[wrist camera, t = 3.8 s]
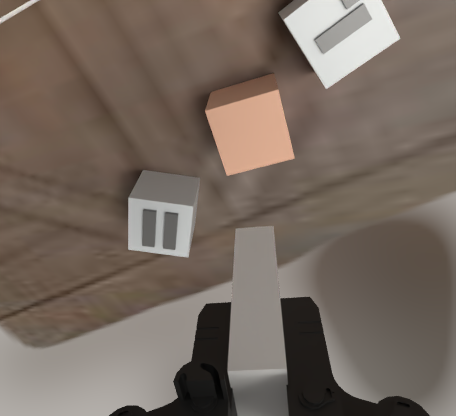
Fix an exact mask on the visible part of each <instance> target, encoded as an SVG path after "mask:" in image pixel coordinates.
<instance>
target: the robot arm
mask: <svg viewBox="0 0 456 416" xmlns="http://www.w3.org/2000/svg"><path fill="white" fill-rule="evenodd" d="M173 382H174V385H175V389H176V392H177V395H178V398H177V399H176V400H174V401H173V402H172V403H169V404H168V405H165V406H163V407H160V408H158V409H154V410H152V411H149V412H146V411H145V410H144V409H142V408H141V407H139V406H125V407H122V408H120V409H117V410H116V411H115V412H113V413H112V414H110V415H109V416H429V414H428V413H427V412H426V411H425V410H424V409H423V408H422V407H421V406H420V405H419V404H417V403H415V402H414V401H412V400H410V399H407V398H403V397H400V396H394V397H387V398H385V399H383V400H381V401H379V403H378V404H376V403H372V402H369V401H365V400H362V399H359V398H356V397H353V396H351V395H350V394H348V393H346V392H345V391H344V390H343V389H341V387H339V386H338V384H337V383H336V381H335V380H334V377H333V374H332V370H331V365H330V361H329V356H328V351H327V346H326V341H325V337H324V333H323V327H322V323H321V318H320V313H319V308H318V307H317V305H316V304H315V303H314V301H313V300H312V299H311V298H310V297H298V298H281V299H280V291H279V281H278V270H277V259H276V249H275V238H274V227H273V226H264V227H251V228H239V229H236V233H235V250H234V267H233V284H232V301H231V302H228V303H210V304H206V305H205V306H204V308H203V309H202V311H201V312H200V314H199V316H198V322H197V331H196V335H195V341H194V348H193V354H192V361H191V362H189V363H187V364H186V365H184V366H183V367H182V368H181V369H180V370H179V371H178V372H177V374H176V376H175V379H174V381H173Z"/></svg>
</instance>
